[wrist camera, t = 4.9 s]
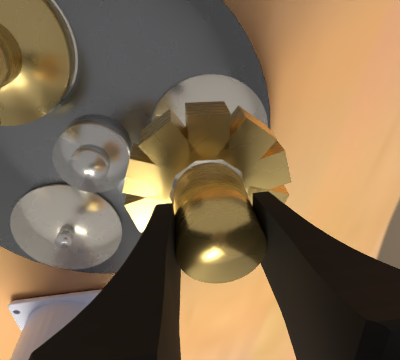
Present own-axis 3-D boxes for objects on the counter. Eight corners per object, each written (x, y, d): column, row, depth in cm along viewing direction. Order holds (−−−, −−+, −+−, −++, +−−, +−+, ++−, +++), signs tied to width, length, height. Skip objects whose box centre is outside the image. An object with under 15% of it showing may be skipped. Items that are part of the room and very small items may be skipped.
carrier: (260, 244, 26) (282, 298, 21) (-4, 277, 25) (-43, 342, 20) (271, -87, 15) (320, -126, 10) (-191, -55, 14) (-366, -82, 9)
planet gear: (271, 228, 17) (308, 309, 12) (135, 238, 16) (125, 327, 12) (289, 98, 13) (350, 150, 9) (115, 105, 13) (91, 164, 8)
